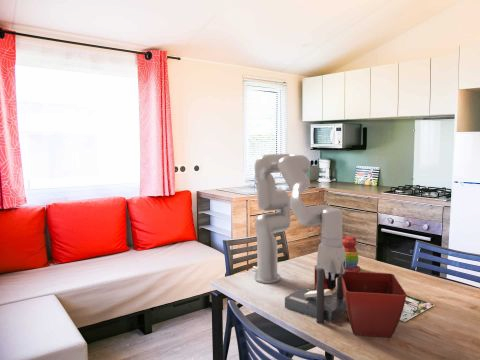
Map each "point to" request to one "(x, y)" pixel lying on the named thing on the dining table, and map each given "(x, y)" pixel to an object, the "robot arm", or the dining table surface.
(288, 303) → the breaker panel
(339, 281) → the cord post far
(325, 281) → the canned food
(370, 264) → the dining table surface
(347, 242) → the stacking bear
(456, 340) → the dining table surface
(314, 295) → the paddle
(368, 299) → the plant pot
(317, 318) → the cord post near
